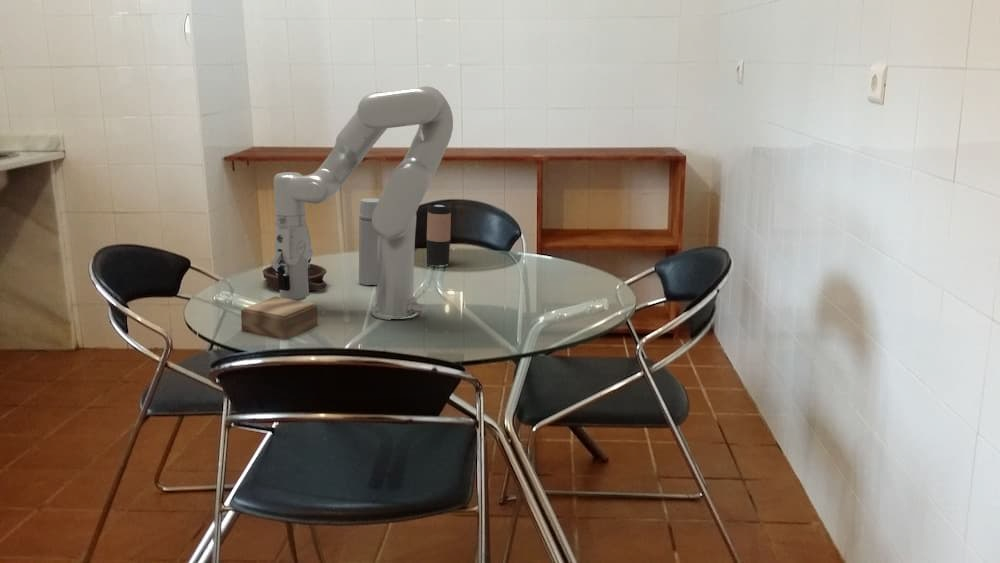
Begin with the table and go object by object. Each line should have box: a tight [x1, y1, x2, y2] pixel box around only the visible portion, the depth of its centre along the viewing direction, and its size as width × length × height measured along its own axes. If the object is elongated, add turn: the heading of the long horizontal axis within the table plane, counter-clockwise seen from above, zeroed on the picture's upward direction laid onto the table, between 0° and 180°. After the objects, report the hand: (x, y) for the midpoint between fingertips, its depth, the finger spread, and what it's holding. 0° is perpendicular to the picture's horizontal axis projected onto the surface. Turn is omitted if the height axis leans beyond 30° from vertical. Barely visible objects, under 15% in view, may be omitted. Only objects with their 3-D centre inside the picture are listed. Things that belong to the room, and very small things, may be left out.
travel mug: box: [426, 202, 452, 265], centre depth 280 cm, size 8×8×20 cm
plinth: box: [240, 296, 319, 340], centre depth 214 cm, size 13×13×6 cm
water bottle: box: [358, 197, 380, 286], centre depth 255 cm, size 9×8×25 cm
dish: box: [262, 263, 327, 291], centre depth 251 cm, size 18×22×5 cm
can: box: [279, 255, 310, 301], centre depth 228 cm, size 8×8×12 cm
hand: (294, 285), depth 229 cm, fingers closed on can, 7 cm apart
